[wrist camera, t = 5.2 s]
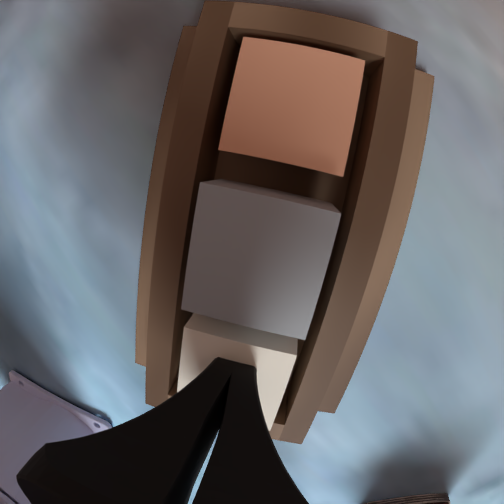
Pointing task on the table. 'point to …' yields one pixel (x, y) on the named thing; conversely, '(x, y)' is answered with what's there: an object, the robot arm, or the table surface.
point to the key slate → (258, 256)
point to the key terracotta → (292, 105)
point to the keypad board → (287, 180)
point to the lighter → (417, 499)
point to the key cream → (239, 356)
